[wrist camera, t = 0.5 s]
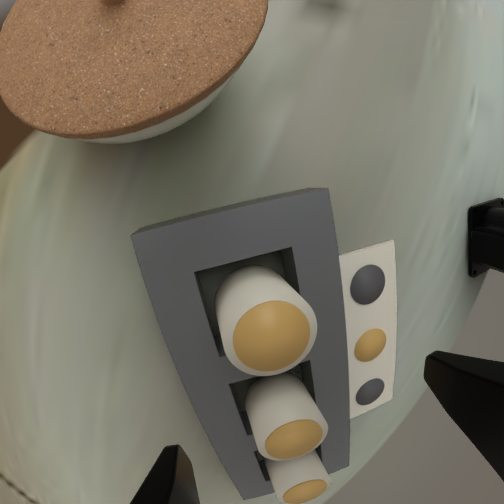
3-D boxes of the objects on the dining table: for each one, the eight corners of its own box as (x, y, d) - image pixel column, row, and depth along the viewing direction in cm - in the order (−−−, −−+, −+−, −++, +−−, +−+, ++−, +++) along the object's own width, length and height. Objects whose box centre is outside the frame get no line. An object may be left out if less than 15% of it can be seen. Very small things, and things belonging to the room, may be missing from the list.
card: (391, 239, 19) (395, 240, 18) (390, 397, 23) (392, 400, 22) (329, 257, 18) (332, 259, 18) (342, 419, 22) (345, 422, 21)
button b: (300, 364, 17) (327, 406, 13) (307, 407, 18) (330, 448, 14) (237, 383, 17) (250, 431, 12) (251, 424, 18) (265, 470, 13)
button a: (281, 256, 15) (312, 280, 11) (293, 323, 16) (323, 361, 12) (205, 276, 15) (211, 308, 11) (225, 343, 16) (236, 389, 12)
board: (309, 187, 17) (328, 188, 15) (338, 448, 23) (349, 465, 20) (139, 228, 16) (130, 235, 13) (238, 480, 21) (243, 500, 19)
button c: (311, 432, 19) (332, 471, 15) (314, 458, 20) (332, 493, 16) (259, 448, 18) (273, 490, 14) (269, 473, 19) (282, 510, 15)
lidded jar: (41, 63, 12) (-37, 1, 3) (187, -18, 12) (195, -118, 4) (106, 196, 15) (15, 208, 6) (269, 100, 15) (348, 25, 6)
